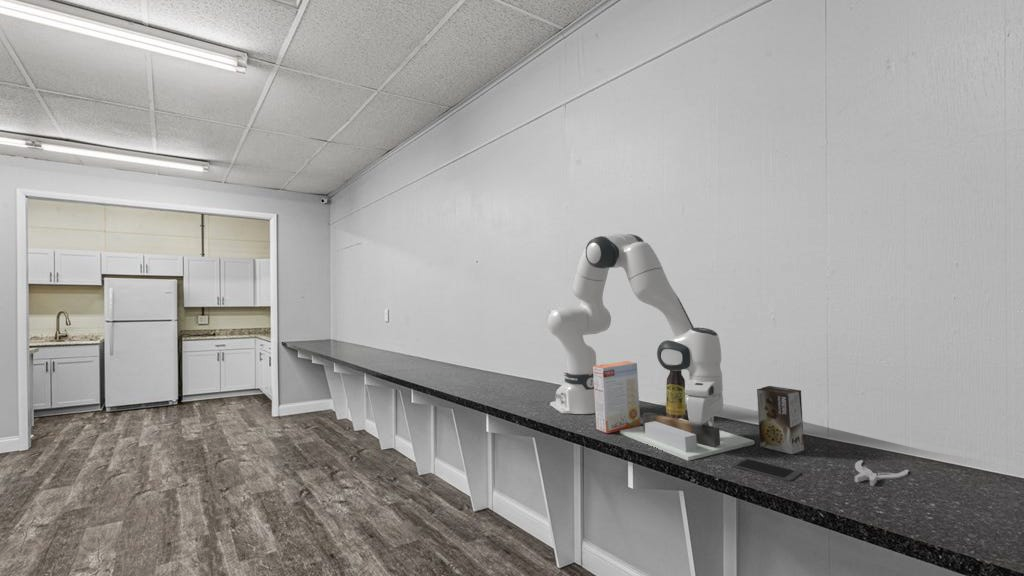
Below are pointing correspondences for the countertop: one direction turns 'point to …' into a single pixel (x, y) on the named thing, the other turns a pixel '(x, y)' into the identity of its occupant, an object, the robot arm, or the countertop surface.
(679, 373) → the sauce bottle
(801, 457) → the countertop surface
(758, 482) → the countertop surface
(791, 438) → the coffee box
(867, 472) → the pliers
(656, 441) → the press board
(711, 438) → the lever
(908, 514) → the countertop surface
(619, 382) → the cracker box
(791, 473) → the cell phone
